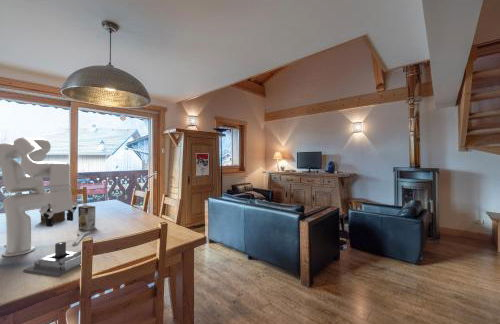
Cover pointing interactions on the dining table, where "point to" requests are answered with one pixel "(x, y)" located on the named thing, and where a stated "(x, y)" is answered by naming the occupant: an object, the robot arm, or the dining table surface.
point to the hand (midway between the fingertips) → (60, 223)
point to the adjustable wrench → (80, 237)
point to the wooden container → (55, 217)
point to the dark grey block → (60, 250)
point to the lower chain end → (46, 266)
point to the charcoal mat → (47, 271)
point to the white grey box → (63, 260)
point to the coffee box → (86, 217)
